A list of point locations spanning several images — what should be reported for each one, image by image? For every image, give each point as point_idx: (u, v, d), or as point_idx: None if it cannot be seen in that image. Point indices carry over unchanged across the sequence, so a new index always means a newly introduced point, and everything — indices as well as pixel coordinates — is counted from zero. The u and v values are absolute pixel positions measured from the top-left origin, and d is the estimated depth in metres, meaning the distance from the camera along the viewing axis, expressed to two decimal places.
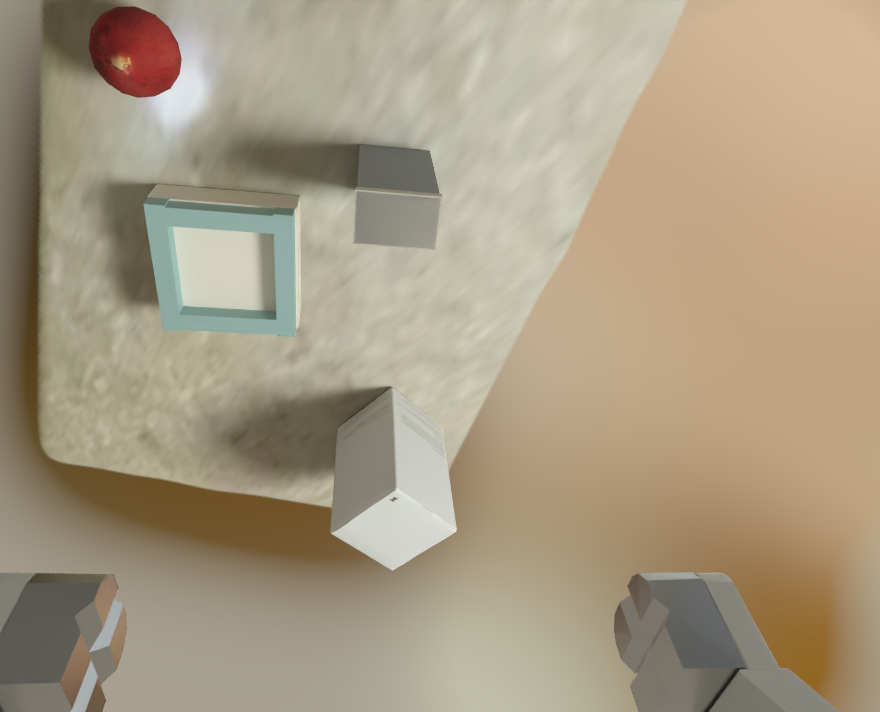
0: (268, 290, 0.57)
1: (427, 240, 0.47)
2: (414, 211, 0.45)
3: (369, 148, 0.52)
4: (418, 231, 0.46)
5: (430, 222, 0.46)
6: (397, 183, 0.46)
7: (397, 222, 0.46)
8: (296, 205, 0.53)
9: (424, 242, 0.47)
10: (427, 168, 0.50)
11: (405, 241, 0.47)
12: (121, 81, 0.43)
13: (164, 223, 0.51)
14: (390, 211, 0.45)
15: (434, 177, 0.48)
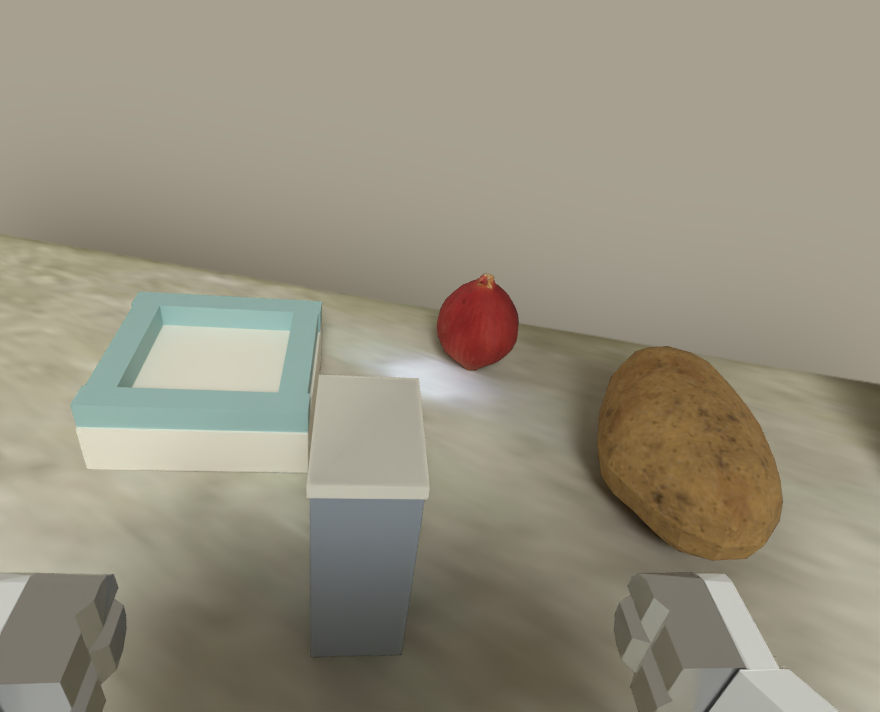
0: None
1: (330, 471, 0.22)
2: (392, 448, 0.23)
3: None
4: (349, 456, 0.22)
5: (371, 473, 0.22)
6: None
7: (366, 426, 0.24)
8: (307, 443, 0.35)
9: (325, 467, 0.22)
10: None
11: (326, 438, 0.23)
12: (464, 287, 0.43)
13: (297, 311, 0.42)
14: (388, 417, 0.24)
15: (414, 560, 0.24)
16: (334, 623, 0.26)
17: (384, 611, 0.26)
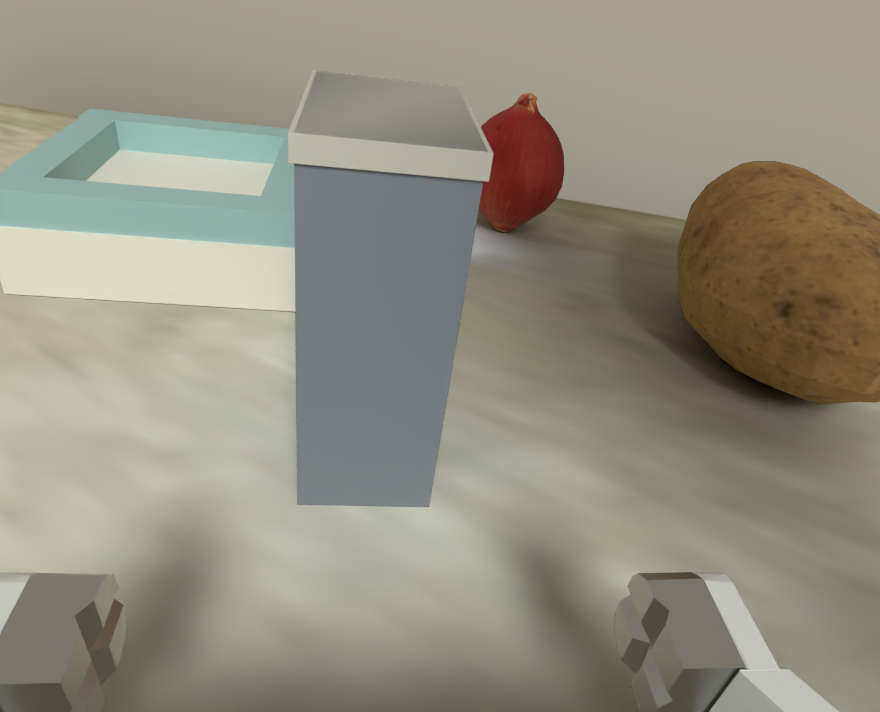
0: None
1: (328, 127, 0.13)
2: (427, 122, 0.14)
3: None
4: (360, 120, 0.14)
5: (396, 135, 0.13)
6: None
7: (385, 105, 0.15)
8: None
9: (320, 124, 0.13)
10: None
11: (323, 106, 0.14)
12: (499, 114, 0.34)
13: None
14: (418, 103, 0.16)
15: (458, 322, 0.16)
16: (332, 441, 0.17)
17: (408, 422, 0.17)
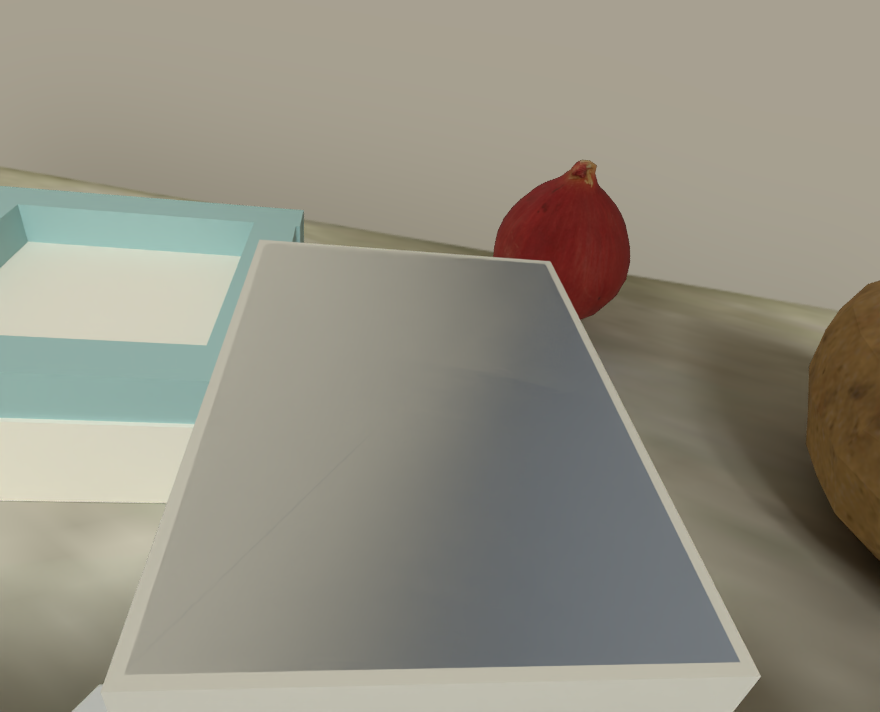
0: None
1: (252, 587, 0.04)
2: (526, 470, 0.06)
3: None
4: (351, 504, 0.05)
5: (459, 595, 0.04)
6: None
7: (413, 385, 0.06)
8: None
9: (230, 562, 0.04)
10: None
11: (256, 427, 0.06)
12: (543, 186, 0.25)
13: (260, 221, 0.24)
14: (485, 356, 0.07)
15: None
16: None
17: None
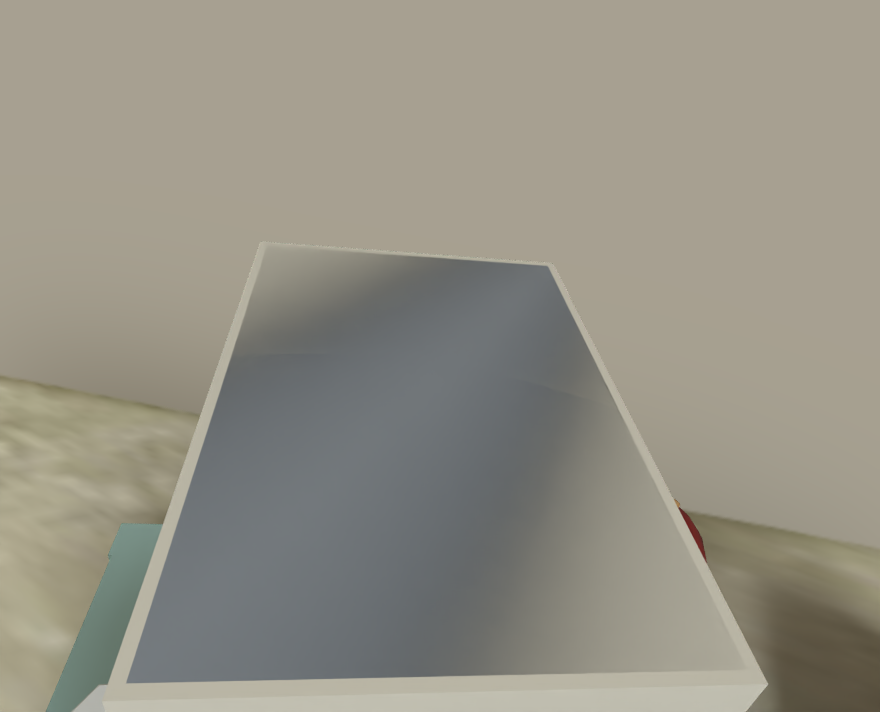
0: None
1: (254, 594, 0.04)
2: (530, 474, 0.06)
3: None
4: (354, 510, 0.05)
5: (463, 602, 0.04)
6: None
7: (416, 389, 0.06)
8: None
9: (232, 569, 0.04)
10: None
11: (258, 431, 0.06)
12: None
13: None
14: (488, 360, 0.07)
15: None
16: None
17: None
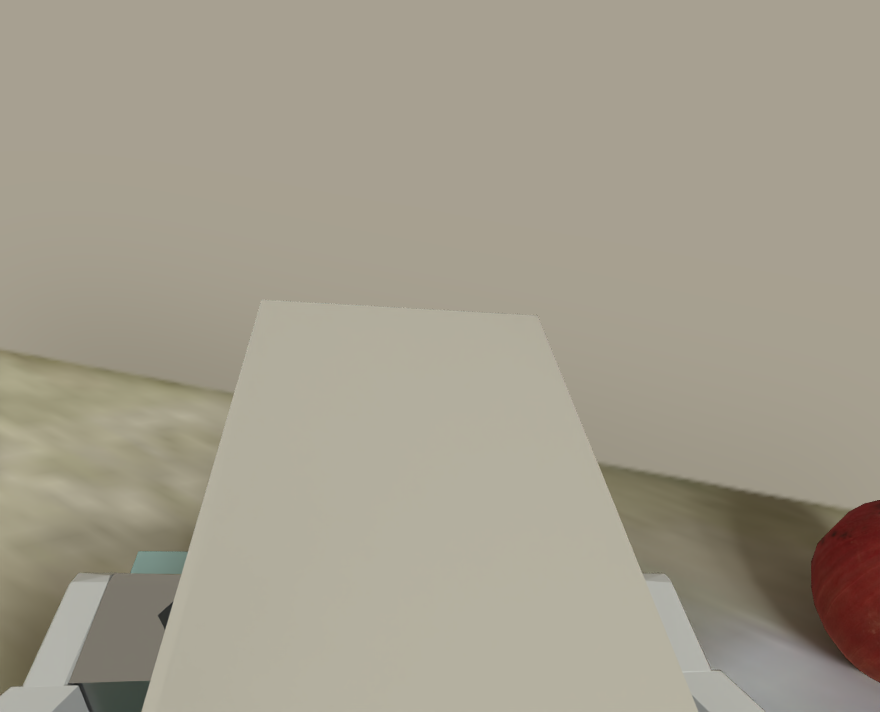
0: None
1: (256, 666, 0.05)
2: (507, 541, 0.06)
3: None
4: (347, 578, 0.06)
5: (442, 670, 0.05)
6: None
7: (405, 454, 0.07)
8: None
9: (236, 641, 0.05)
10: None
11: (259, 502, 0.06)
12: None
13: None
14: (472, 422, 0.07)
15: None
16: None
17: None
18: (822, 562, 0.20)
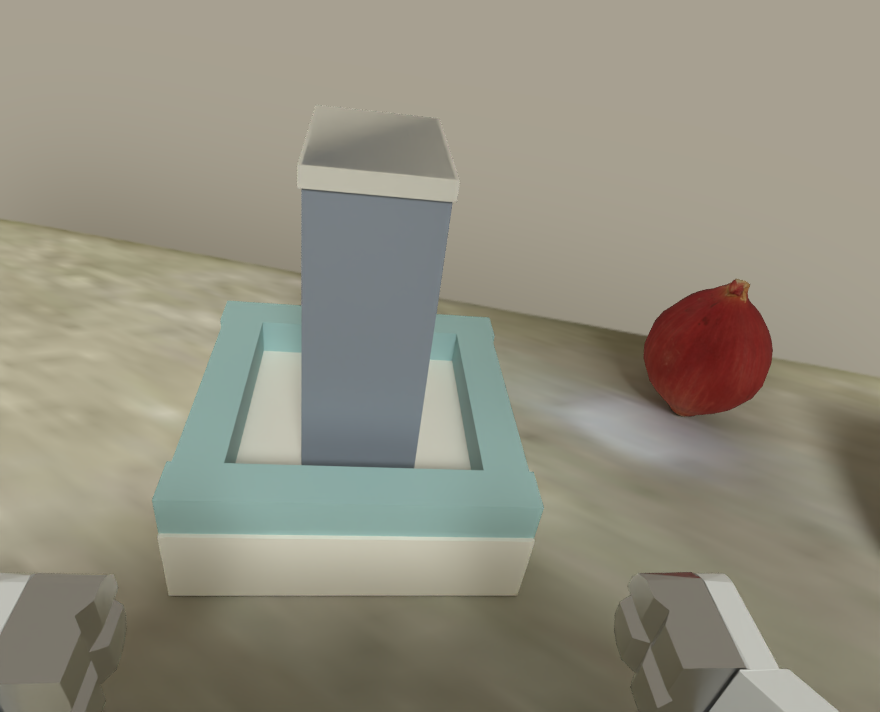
0: None
1: (328, 159, 0.16)
2: (409, 153, 0.18)
3: None
4: (354, 152, 0.17)
5: (383, 165, 0.17)
6: None
7: (375, 138, 0.19)
8: (529, 554, 0.21)
9: (322, 156, 0.17)
10: None
11: (324, 140, 0.18)
12: (699, 299, 0.29)
13: (460, 331, 0.28)
14: (402, 135, 0.19)
15: (435, 315, 0.19)
16: (331, 416, 0.21)
17: (395, 400, 0.21)
18: (647, 337, 0.32)
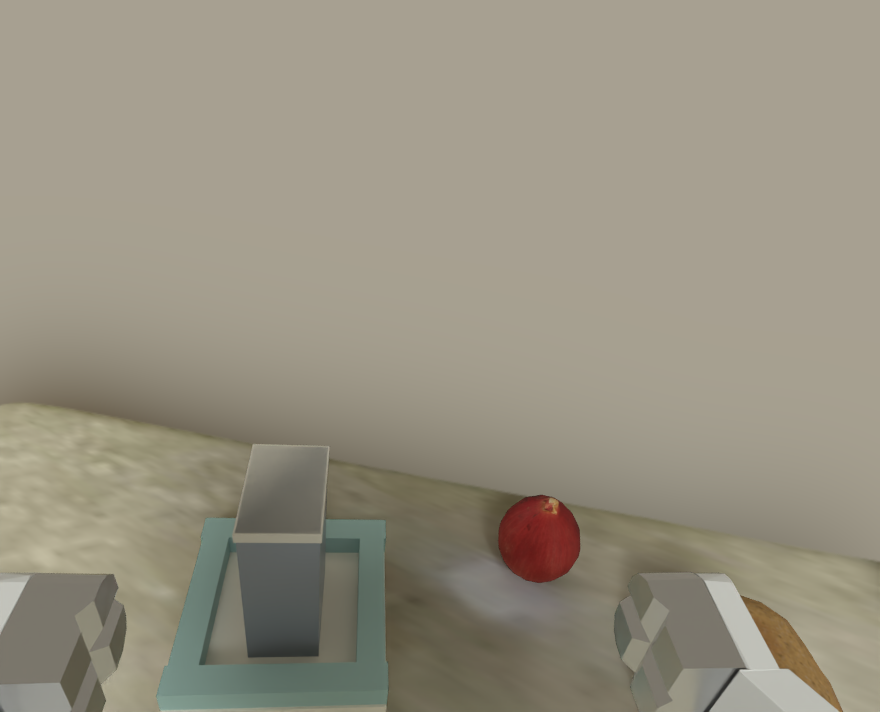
0: (244, 663, 0.36)
1: (250, 523, 0.30)
2: (299, 504, 0.32)
3: (324, 570, 0.40)
4: (267, 511, 0.31)
5: (281, 524, 0.30)
6: None
7: (282, 487, 0.32)
8: None
9: (247, 519, 0.30)
10: None
11: (251, 497, 0.32)
12: (528, 508, 0.43)
13: (362, 536, 0.42)
14: (300, 479, 0.33)
15: (319, 585, 0.33)
16: (263, 631, 0.35)
17: (301, 623, 0.34)
18: (500, 524, 0.45)
